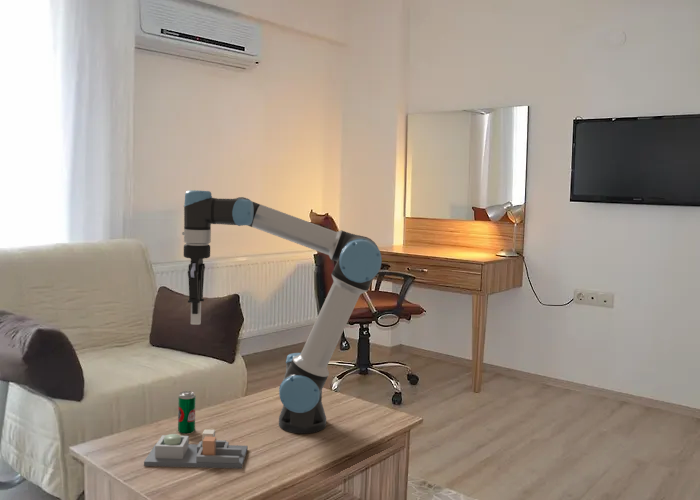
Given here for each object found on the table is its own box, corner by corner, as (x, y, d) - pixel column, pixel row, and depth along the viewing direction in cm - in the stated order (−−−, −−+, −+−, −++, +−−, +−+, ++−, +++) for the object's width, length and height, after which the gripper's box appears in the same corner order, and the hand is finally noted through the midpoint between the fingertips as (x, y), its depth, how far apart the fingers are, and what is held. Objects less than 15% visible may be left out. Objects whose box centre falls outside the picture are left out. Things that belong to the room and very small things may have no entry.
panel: (247, 449, 183) (247, 434, 183) (241, 468, 171) (242, 452, 171) (156, 447, 182) (156, 431, 182) (143, 465, 170) (144, 449, 170)
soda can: (190, 435, 191) (191, 396, 190) (174, 433, 192) (175, 395, 191) (197, 429, 196) (198, 391, 195) (182, 427, 197) (183, 389, 196)
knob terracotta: (215, 454, 176) (215, 436, 175) (213, 459, 173) (214, 441, 172) (204, 454, 176) (204, 436, 175) (202, 458, 173) (202, 441, 172)
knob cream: (214, 446, 181) (215, 429, 180) (212, 451, 178) (213, 433, 177) (204, 446, 181) (204, 429, 180) (202, 450, 178) (202, 433, 177)
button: (182, 444, 178) (182, 434, 178) (178, 451, 174) (178, 440, 174) (166, 444, 178) (166, 433, 178) (162, 450, 174) (162, 440, 174)
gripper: (188, 241, 191) (187, 318, 193) (178, 245, 178) (177, 328, 180) (214, 242, 191) (212, 319, 193) (205, 246, 178) (204, 329, 180)
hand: (195, 323), depth 187 cm, fingers closed
